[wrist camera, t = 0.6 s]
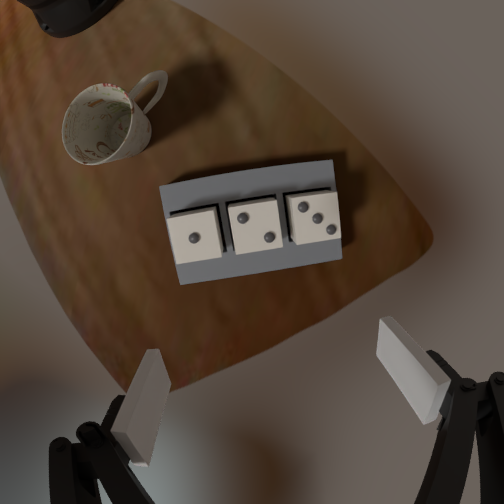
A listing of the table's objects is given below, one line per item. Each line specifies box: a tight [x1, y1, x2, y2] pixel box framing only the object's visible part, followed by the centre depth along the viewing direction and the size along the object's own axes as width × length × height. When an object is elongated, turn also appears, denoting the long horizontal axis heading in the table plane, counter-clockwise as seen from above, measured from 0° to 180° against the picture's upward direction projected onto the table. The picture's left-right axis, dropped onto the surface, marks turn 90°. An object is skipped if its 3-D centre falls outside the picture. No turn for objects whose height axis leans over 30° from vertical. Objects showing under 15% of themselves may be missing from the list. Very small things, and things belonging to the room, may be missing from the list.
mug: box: [62, 70, 168, 165], centre depth 27 cm, size 8×13×10 cm, turn 138°
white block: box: [167, 206, 224, 264], centre depth 31 cm, size 5×5×4 cm
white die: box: [228, 197, 283, 255], centre depth 31 cm, size 5×5×4 cm
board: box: [159, 160, 342, 285], centre depth 34 cm, size 12×20×3 cm, turn 99°
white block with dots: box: [285, 190, 341, 245], centre depth 31 cm, size 5×5×4 cm
